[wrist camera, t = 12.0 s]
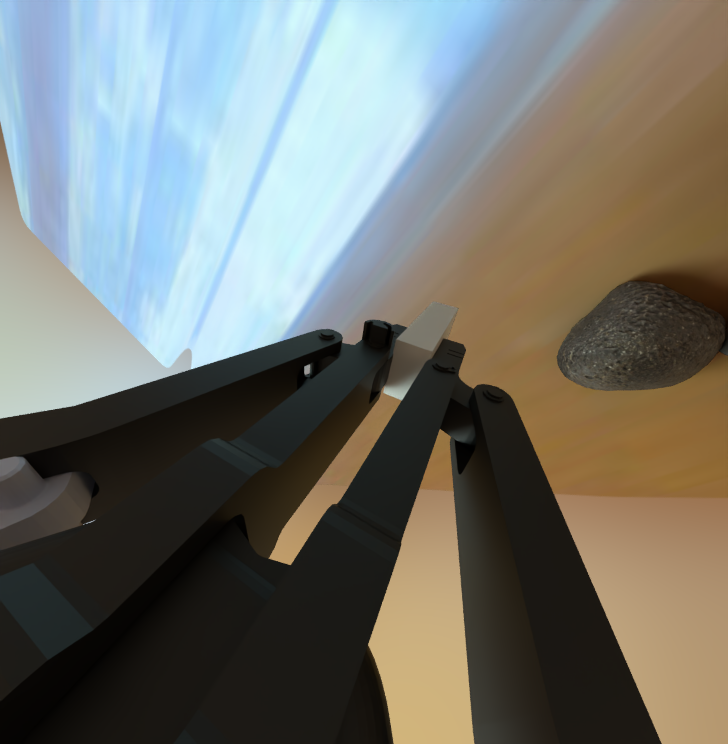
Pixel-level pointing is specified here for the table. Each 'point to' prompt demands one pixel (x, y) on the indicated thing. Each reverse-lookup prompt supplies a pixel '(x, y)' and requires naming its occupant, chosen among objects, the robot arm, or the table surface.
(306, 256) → the table surface
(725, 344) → the cart
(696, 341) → the stone
